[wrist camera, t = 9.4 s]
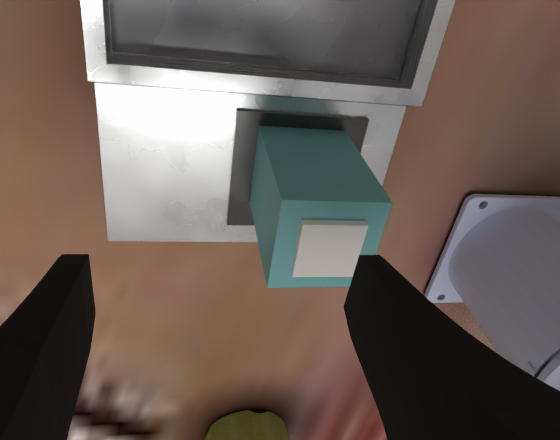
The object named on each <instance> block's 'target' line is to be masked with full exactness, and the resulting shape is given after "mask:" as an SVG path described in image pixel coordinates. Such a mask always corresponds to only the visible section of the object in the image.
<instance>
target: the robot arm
mask: <svg viewBox="0 0 560 440" xmlns="http://www.w3.org/2000/svg"><path fill="white" fill-rule="evenodd" d="M483 201H484V202H483ZM481 202H483V203H482V204H481V205H479V204H480V203H481ZM444 302H464V304H465V305H466V307H467V308H468V310H469V311H470V313H471V314H472V316H473V317H474V319H475V320H476V322H477V323H478V325H479V326H480V328H481V329H482V331H483V332H484V334H485V335H486V337H487V338H488V340H489V341H490V343H491V344H492V345H493V347H494V348H495V350H496V351H497V353H498V354H497V353H496V352H494V351H493V350H491V349H490V348H489V347H487V346H486V345H484V344H483V343H482V342H480V341H479V340H477V339H476V338H475V337H473V336H472V335H471V334H469V333H468V332H467V331H465V330H464V329H463V328H462V327H460V326H459V325H458V324H457V323H455V322H454V321H453V320H452V319H450V318H449V317H448V316H447V315H446V314H444V313H443V312H442V311H441V310H440V309H438V308H437V307H436V306H435V305H434V304H433V303H444ZM344 310H345V315H346V319H347V324H348V328H349V332H350V336H351V339H352V342H353V345H354V348H355V350H356V353H357V356H358V358H359V361H360V363H361V366H362V369H363V371H364V374H365V376H366V379H367V381H368V384H369V387H370V389H371V392H372V394H373V397H374V400H375V402H376V405H377V407H378V410H379V413H380V416H381V419H382V422H383V425H384V428H385V432H386V436H387V439H388V440H560V197H556V196H526V195H496V194H472V195H470V196H468V197H467V198H466V199H465V201H464V203H463V205H462V207H461V210H460V212H459V214H458V217H457V219H456V221H455V224H454V226H453V228H452V231H451V233H450V235H449V238H448V240H447V243H446V245H445V247H444V250H443V252H442V254H441V257H440V259H439V261H438V264H437V266H436V268H435V271H434V273H433V275H432V278H431V280H430V282H429V285H428V287H427V290H426V292H425V295H423V294H422V293H420V292H419V291H418V290H417V289H416V288H415V287H414V286H413V285H412V284H411V283H410V282H409V281H407V280H406V279H405V278H404V277H403V276H402V275H401V274H400V273H399V272H398V271H397V270H396V269H395V268H394V267H392V266H391V265H390V264H389V263H388V262H387V261H386V260H385V259H384V258H382V257H381V256H380V255H359V257H358V261H357V264H356V267H355V271H354V274H353V278H352V281H351V284H350V288H349V291H348V294H347V298H346V301H345V304H344ZM94 320H95V304H94V296H93V287H92V279H91V270H90V262H89V254H62V255H61V256H60V257H59V258H58V259H57V260H56V262H55V263H54V264H53V265H52V267H51V268H50V269H49V271H48V272H47V273H46V274H45V276H44V277H43V278H42V279H41V281H40V282H39V283H38V284H37V286H36V287H35V288H34V289H33V290H32V292H31V293H30V294H29V295H28V296H27V297H26V299H25V300H24V301H23V302H22V303H21V304H20V305H19V306H18V308H17V309H16V310H15V311H14V312H13V313H12V314H11V315H10V317H9V318H8V319H7V320H6V321H5V322H4V323H3V324H2V325H1V326H0V440H67V436H68V431H69V428H70V424H71V420H72V417H73V413H74V409H75V405H76V402H77V398H78V394H79V391H80V387H81V383H82V379H83V376H84V372H85V368H86V364H87V361H88V357H89V353H90V349H91V342H92V335H93V328H94Z"/></svg>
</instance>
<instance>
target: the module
mask: <svg viewBox="0 0 560 440" xmlns="http://www.w3.org/2000/svg"><path fill="white" fill-rule="evenodd" d="M391 206H392V201H391V200H390V198H389V197H388V195H387V194H386V192H385V191H384V189H383V188H382V186H381V185H380V183H379V181H378V180H377V178H376V177H375V175H374V174H373V172H372V171H371V169H370V168H369V166H368V165H367V163H366V162H365V160H364V159H363V157H362V155H361V154H360V152H359V151H358V149H357V148H356V146H355V145H354V143H353V142H352V140H351V139H350V137H349V136H348V134H347V133H346V131H338V130H322V129H306V128H290V127H274V126H259V129H258V137H257V145H256V153H255V162H254V170H253V178H252V187H251V195H250V207H251V211H252V216H253V221H254V226H255V231H256V236H257V240H258V245H259V250H260V255H261V260H262V265H263V269H264V274H265V279H266V284H267V288H289V287H350V284H351V281H352V278H353V274H354V271H355V267H356V264H357V261H358V257H359V255H376V252H377V249H378V246H379V243H380V240H381V237H382V234H383V231H384V228H385V224H386V221H387V218H388V215H389V212H390V209H391Z"/></svg>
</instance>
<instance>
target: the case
mask: <svg viewBox="0 0 560 440" xmlns="http://www.w3.org/2000/svg"><path fill="white" fill-rule="evenodd" d="M80 3H81V14H82V24H83V35H84V45H85V56H86V67H87V77H88V81H95V82H108V83H121V84H135V85H148V86H161V87H174V88H187V89H200V90H213V91H226V92H240V93H253V94H266V95H279V96H292V97H305V98H318V99H332V100H345V101H358V102H371V103H384V104H397V105H410V106H422V103H423V100H424V97H425V94H426V91H427V88H428V84H429V81H430V78H431V75H432V72H433V69H434V66H435V63H436V60H437V56H438V53H439V50H440V47H441V44H442V41H443V38H444V35H445V32H446V28H447V25H448V22H449V19H450V16H451V13H452V10H453V7H454V4H455V0H80Z"/></svg>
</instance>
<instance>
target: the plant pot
mask: <svg viewBox="0 0 560 440" xmlns="http://www.w3.org/2000/svg"><path fill="white" fill-rule="evenodd" d="M205 440H290V439H289V436H288V433H287V430H286V427H285V424H284V422H283V420H282V419H281V418H280V417H279V416H277V415H276V414H274V413H272V412H268V411H266V412H264V413H254V412H252V411H249V410H245V411H239V412H235V413H232V414H229V415H227V416H225V417H223V418H221V419H219V420H217V421H216V422H215V423H213V424H212V425H211V427H210V429H209V431H208V433H207V435H206V437H205Z"/></svg>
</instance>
